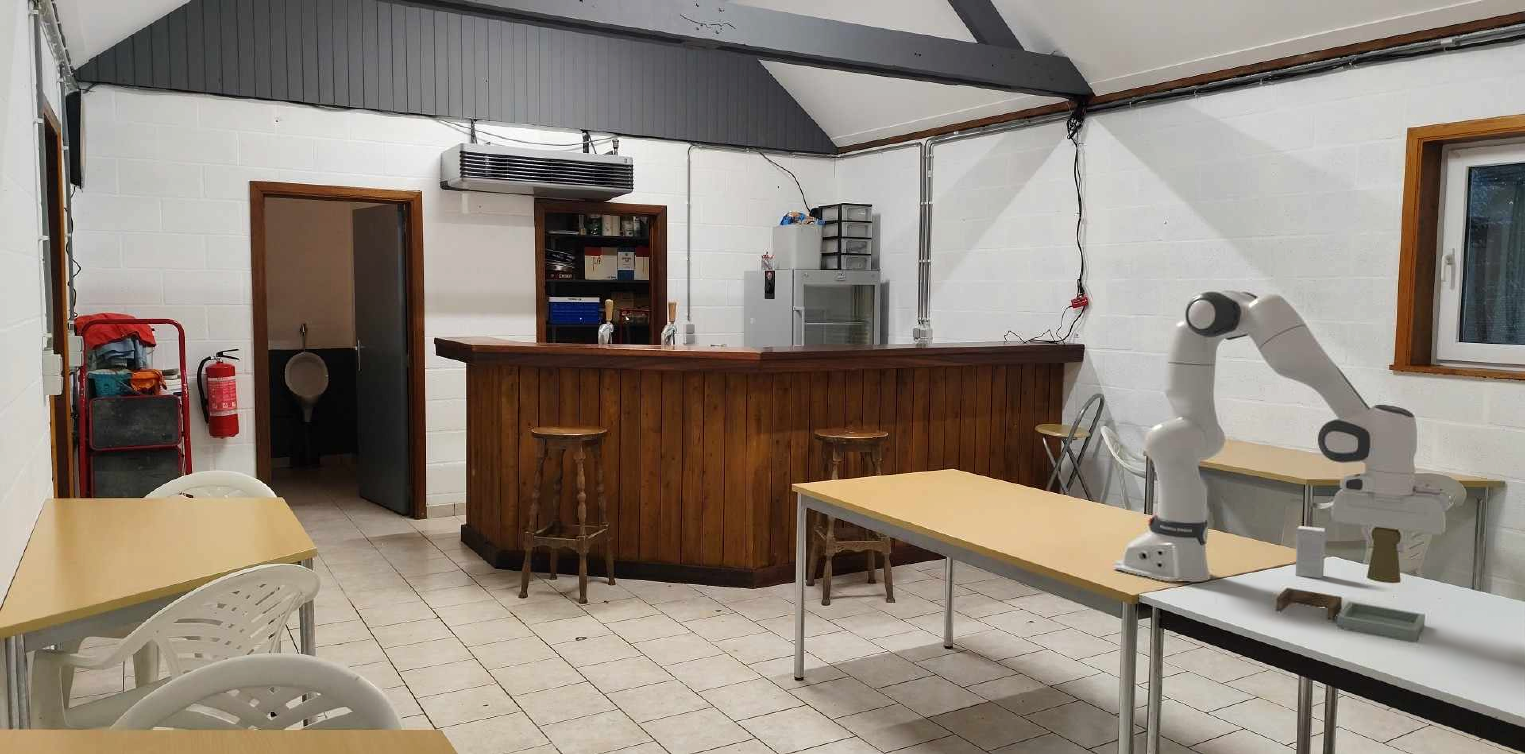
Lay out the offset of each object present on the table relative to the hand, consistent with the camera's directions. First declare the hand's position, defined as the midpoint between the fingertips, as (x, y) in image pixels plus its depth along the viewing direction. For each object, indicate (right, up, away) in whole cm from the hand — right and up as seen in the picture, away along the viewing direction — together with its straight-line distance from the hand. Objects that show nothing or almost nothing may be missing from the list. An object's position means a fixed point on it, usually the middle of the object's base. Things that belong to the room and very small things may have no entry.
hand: (1385, 549), depth 210 cm
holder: (-10, -16, +12) cm, 22 cm away
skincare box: (+7, -14, +42) cm, 44 cm away
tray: (0, -16, +1) cm, 16 cm away
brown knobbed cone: (0, -7, 0) cm, 7 cm away
